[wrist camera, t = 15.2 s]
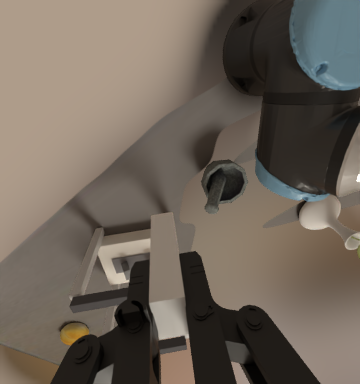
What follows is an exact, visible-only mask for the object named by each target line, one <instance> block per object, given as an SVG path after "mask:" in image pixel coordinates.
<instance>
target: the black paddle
mask: <svg viewBox="0 0 360 384" xmlns="http://www.w3.org/2000/svg"><path fill="white" fill-rule="evenodd" d="M121 266H122V269H123V272H124V275H125V278H126V281H127V280H129V279H130V268H129V265H128V263H127V261H126V262H124V263H121Z"/></svg>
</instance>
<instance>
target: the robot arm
mask: <svg viewBox="0 0 360 384" xmlns="http://www.w3.org/2000/svg"><path fill="white" fill-rule="evenodd" d="M223 64H224V69H225V73H226V75H227V77H228V79H229V81H230V82H231V84H232V85H233V86H234V87H235V88H236V89H237V90H239V91H240V92H242V93H245V94H248V95H254V96H263V101H262V108H261V117H260V126H259V134H258V142H257V148H256V150H255V157H256V167H255V172H256V175H257V177H258V179H259V181H260V182H261V183H262V184H263V185H264V186H265V187H266V188H267V189H269V190H270V191H272V192H274V193H276V194H278V195H280V196H283V197H286V198H289V199H293V200H298V201H300V200H301V199H303V200H305V201H307V202H314V201H320V200H323V199H325V198H326V197H328V196H329V195H330V194H332V195H336V196H339V197H343V196H345V195H348V194H350V193H353V192H356V191H360V106H358V101H359V98H360V0H258V1H256V2H254V3H252V4H251V5H250V6H248V7H247V8H246V9H245V10H243V11H242V12H241V13H240V14H239V15H238V16H237V18H236V19H235V20H234V22H233V23H232V25H231V26H230V28H229V30H228V33H227V35H226V39H225V42H224V47H223ZM114 317H115V319H116V321H117V324H118V326H117V327H115V328H114V329H113V330H111V331H109V332H108V333H106V334H104V335H102V336H100V337H98V338H97V337H96V336H95V335H92V334H90V335H84V336H82V337H80V338H78V339H77V340H76V341H75V342H74V343H73V344H72V345H71V347H70V348H69V349H68V351H67V353H66V355H65V357H64V359H63V360H62V362H61V364H60V366H59V368H58V370H57V372H56V374H55V376H54V378H53V380H52V382H51V384H161V364H160V363H161V361H160V350H159V346H158V336H159V339H165V338H171V337H177V336H182V335H188V334H189V339H190V347H191V355H192V361H193V370H194V377H195V384H237V383H236V380H235V375H234V372H233V368H232V365H231V361H233V362H237V363H239V364H240V365H241V367H242V369H243V371H244V373H245V375H246V377H247V379H248V381H249V383H250V384H320V382H319V381H318V380H317V378H316V377H315V376H314V375H313V373H312V372H311V371H310V369H309V368H308V367H307V365H306V364H305V363H304V361H303V360H302V359H301V358H300V356H299V355H298V354H297V353H296V351H295V350H294V348H293V347H292V346H291V344H290V343H289V342H288V341H287V339H286V338H285V337H284V335H283V334H282V333H281V331H280V330H279V329H278V328H277V326H276V325H275V324H274V322H273V321H272V320H271V318H270V317H269V316H268V314H267V313H265V311H264V310H262V309H261V308H259V307H257V306H252V305H247V306H243V307H242V308H241V309H239V311H236V310H229V309H225V308H222V307H220V306H219V305H218V304H216V303H215V302H214V300H213V298H212V296H211V293H210V289H209V285H208V281H207V278H206V274H205V270H204V266H203V263H202V259H201V257H200V255H199V254H198V253H197V252H196V251H194V252H187V253H181V254H179V249H178V242H177V236H176V230H175V223H174V217H173V212H168V213H162V214H156V215H151V238H150V259H149V260H143V261H137V262H135V263H134V265H133V266H132V268H131V271H130V279H129V287H128V294H127V300H125V301H124V302H122V303H121V304H120V305H119V306H118V307H117V309H116V311H115V314H114Z"/></svg>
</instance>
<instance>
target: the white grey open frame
mask: <svg viewBox="0 0 360 384" xmlns="http://www.w3.org/2000/svg"><path fill="white" fill-rule="evenodd" d="M104 234H105V232H104V229H103V227H101V228H96V229H95V232H94V234H93V237H92V239H91V242H90V244H89V247H88V249H87V252H86V254H85V257H84V259H83V262H82V264H81V267H80V269H79V271H78V274H77V276H76V279H75V281H74V284H73V286H72V289H71V291H70V294H69V297H70V299H71V301H72V298H73V297H76V296H82V295H84V294H85V291H86V288H87V285H88V282H89V279H90V276H91V273H92V270H93V267H94V264H95V261H96V258H97V255H98V256H99V259H100V261H101V264H102V266H103V268H104V271H105V273H106V276H107V278H108V281H109V283H110V285H112V289H111V290H117V289H120V286H121V283H126V282H129V280H127V281H126V278H125V275H124V272H123V269H122V266H121V263H124V262H126V261H127V263H128V265H129V268H130V271H131V268H132V266H133V265H134V263H135V262H137V261H143V260H149V259H150V238H151V229H146V230H140V231H134V232H127V233H121V234H115V235H109V236H104ZM116 309H117V306H111V307H108V308H107V312H106V317H105V322H104V327H103V332H102V335H104V334H106V333H108V332H109V331H111V330H113V327H114V321H115V317H114V314H115V311H116ZM182 336H185V339H186V338H189V334H188V335H182ZM182 336H181V337H182Z"/></svg>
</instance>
